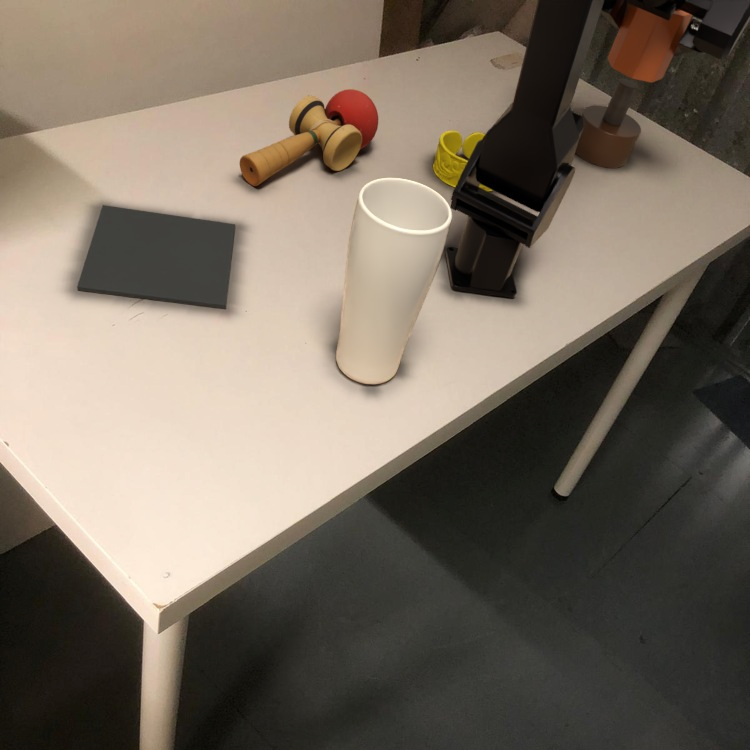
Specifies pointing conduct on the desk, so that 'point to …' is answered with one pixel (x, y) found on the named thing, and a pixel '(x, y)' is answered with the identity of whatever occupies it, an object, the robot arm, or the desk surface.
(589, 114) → the stand
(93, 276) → the mat
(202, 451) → the desk surface
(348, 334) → the drinking glass
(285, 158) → the kendama
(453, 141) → the bracelet
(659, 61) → the orange hollow octagonal prism
